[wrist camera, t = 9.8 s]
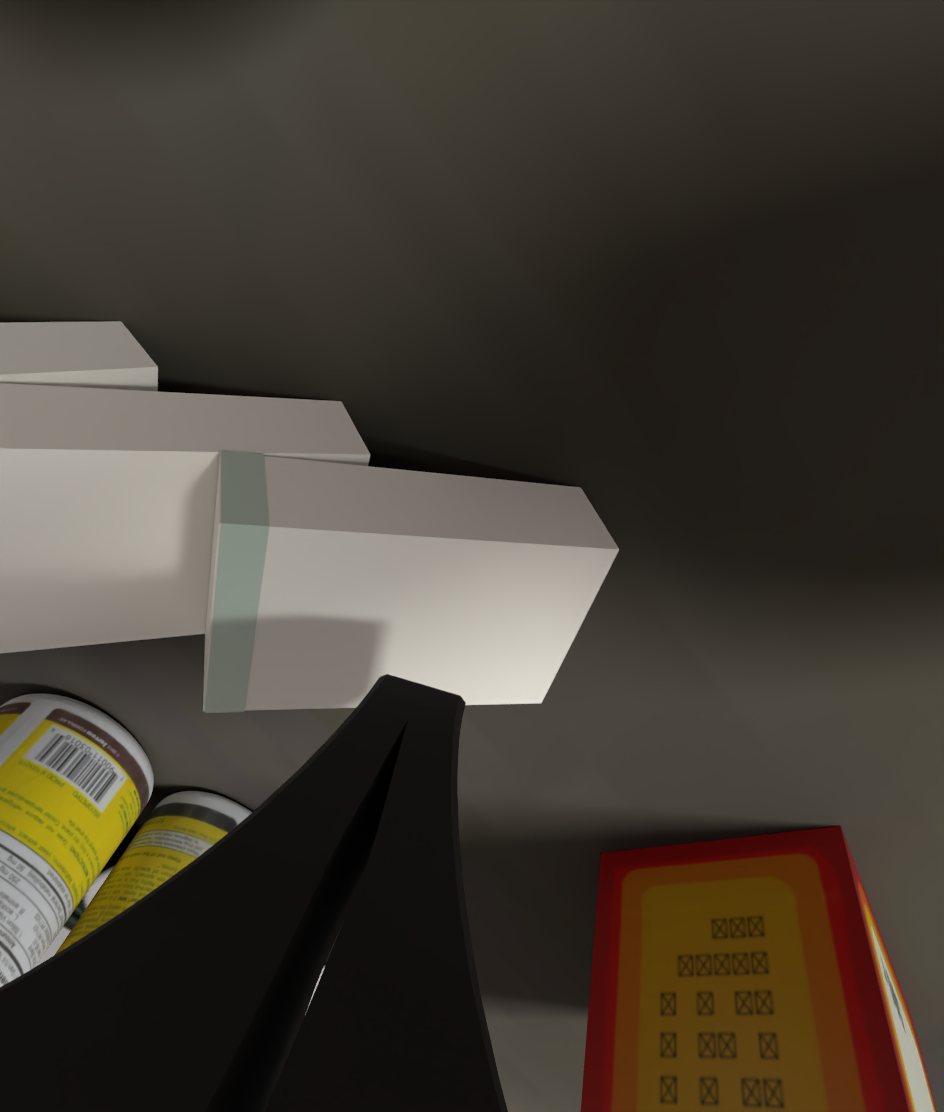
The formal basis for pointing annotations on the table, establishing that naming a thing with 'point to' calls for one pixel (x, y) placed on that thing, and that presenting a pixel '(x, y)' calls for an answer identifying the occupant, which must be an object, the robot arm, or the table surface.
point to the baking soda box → (745, 984)
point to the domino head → (391, 583)
